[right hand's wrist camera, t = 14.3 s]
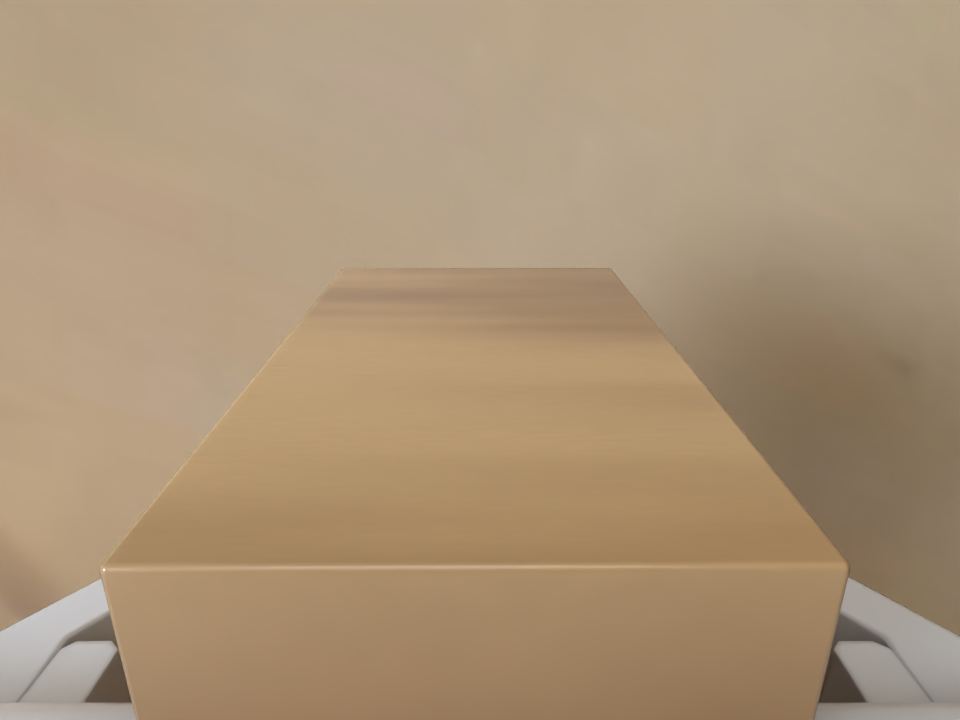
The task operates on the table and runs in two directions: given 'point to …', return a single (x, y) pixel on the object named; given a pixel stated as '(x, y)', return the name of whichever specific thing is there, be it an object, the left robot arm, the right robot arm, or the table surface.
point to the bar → (475, 525)
